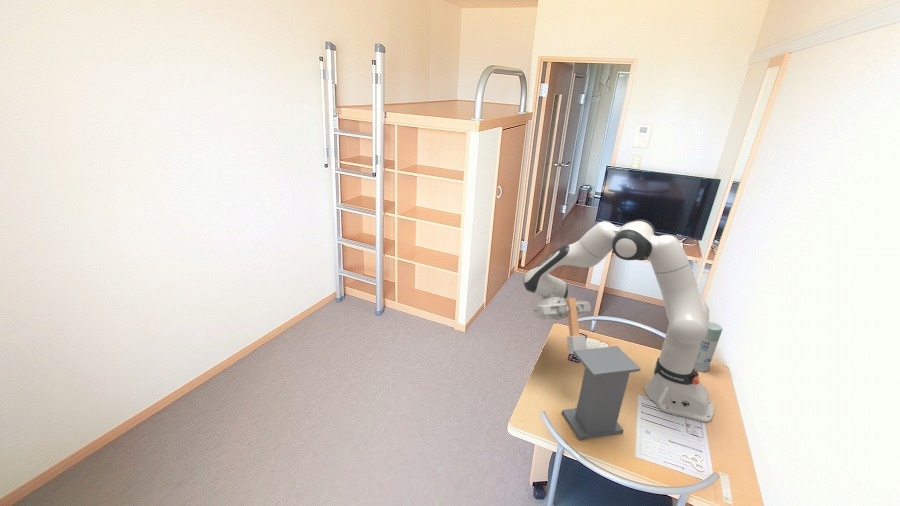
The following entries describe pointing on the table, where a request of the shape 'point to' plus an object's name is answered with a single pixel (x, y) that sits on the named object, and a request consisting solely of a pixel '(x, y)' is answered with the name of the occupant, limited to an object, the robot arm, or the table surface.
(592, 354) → the stand
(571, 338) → the bar
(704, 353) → the spray paint can
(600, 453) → the table surface
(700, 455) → the fidget spinner
